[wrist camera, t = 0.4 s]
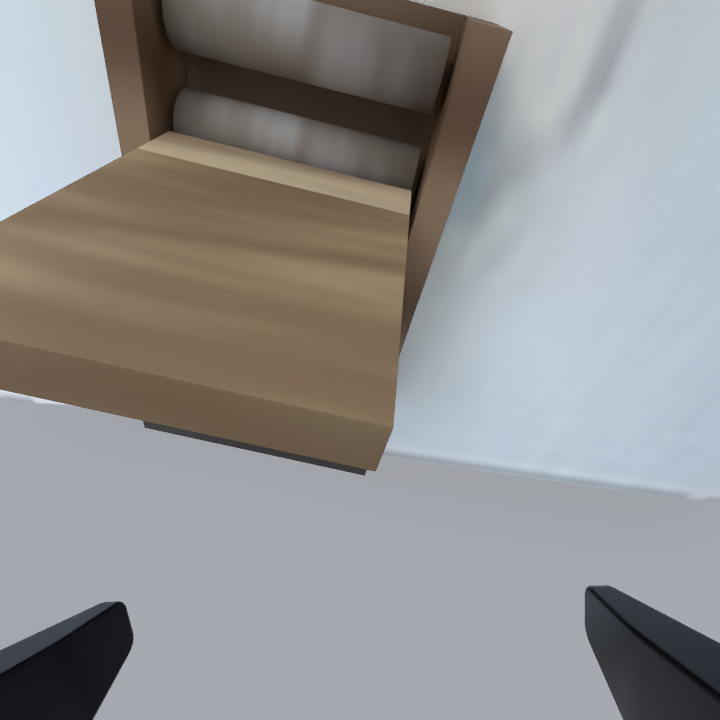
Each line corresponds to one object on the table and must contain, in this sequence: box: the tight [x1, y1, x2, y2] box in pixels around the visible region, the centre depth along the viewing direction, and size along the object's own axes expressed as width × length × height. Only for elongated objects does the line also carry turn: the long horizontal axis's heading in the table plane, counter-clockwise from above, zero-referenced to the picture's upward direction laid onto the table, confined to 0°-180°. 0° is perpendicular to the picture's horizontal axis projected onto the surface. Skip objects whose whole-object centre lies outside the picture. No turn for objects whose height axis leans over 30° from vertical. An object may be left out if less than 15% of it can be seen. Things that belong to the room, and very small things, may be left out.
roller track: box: [94, 0, 512, 475], centre depth 16 cm, size 17×11×6 cm, turn 169°
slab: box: [0, 131, 411, 471], centre depth 12 cm, size 6×8×10 cm
